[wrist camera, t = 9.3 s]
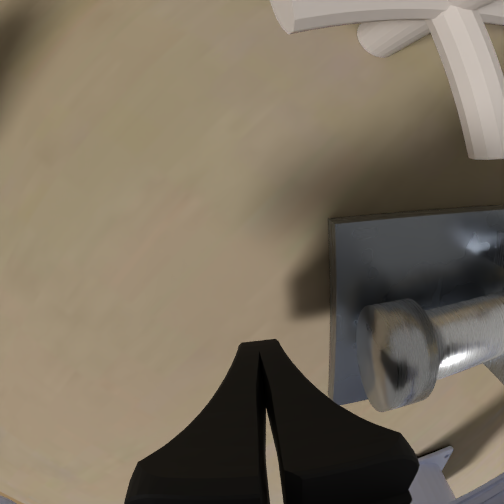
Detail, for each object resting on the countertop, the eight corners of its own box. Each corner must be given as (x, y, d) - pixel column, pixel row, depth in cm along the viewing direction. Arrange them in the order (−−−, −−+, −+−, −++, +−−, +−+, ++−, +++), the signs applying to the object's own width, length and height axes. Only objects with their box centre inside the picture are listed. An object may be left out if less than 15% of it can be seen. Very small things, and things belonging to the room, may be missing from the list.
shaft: (541, 310, 13) (581, 339, 9) (353, 369, 13) (384, 433, 9) (554, 249, 12) (600, 271, 8) (358, 287, 12) (403, 343, 8)
